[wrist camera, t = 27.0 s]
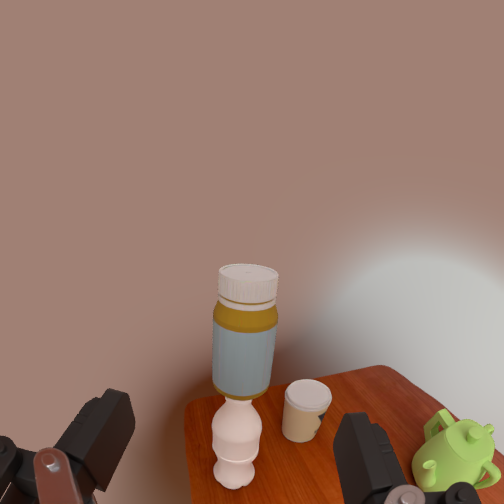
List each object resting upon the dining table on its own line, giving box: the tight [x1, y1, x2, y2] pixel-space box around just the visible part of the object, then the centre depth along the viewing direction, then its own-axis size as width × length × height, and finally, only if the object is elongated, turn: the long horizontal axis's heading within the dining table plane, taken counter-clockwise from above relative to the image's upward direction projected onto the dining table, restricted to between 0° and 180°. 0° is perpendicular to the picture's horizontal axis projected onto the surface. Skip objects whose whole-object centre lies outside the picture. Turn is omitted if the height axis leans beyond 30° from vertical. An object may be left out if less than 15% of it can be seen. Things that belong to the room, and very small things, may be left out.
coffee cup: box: [282, 379, 332, 442], centre depth 50 cm, size 9×9×12 cm
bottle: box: [212, 264, 279, 401], centre depth 31 cm, size 7×7×15 cm
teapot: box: [412, 408, 501, 492], centre depth 29 cm, size 19×20×14 cm
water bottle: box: [212, 397, 262, 489], centre depth 35 cm, size 7×7×25 cm
